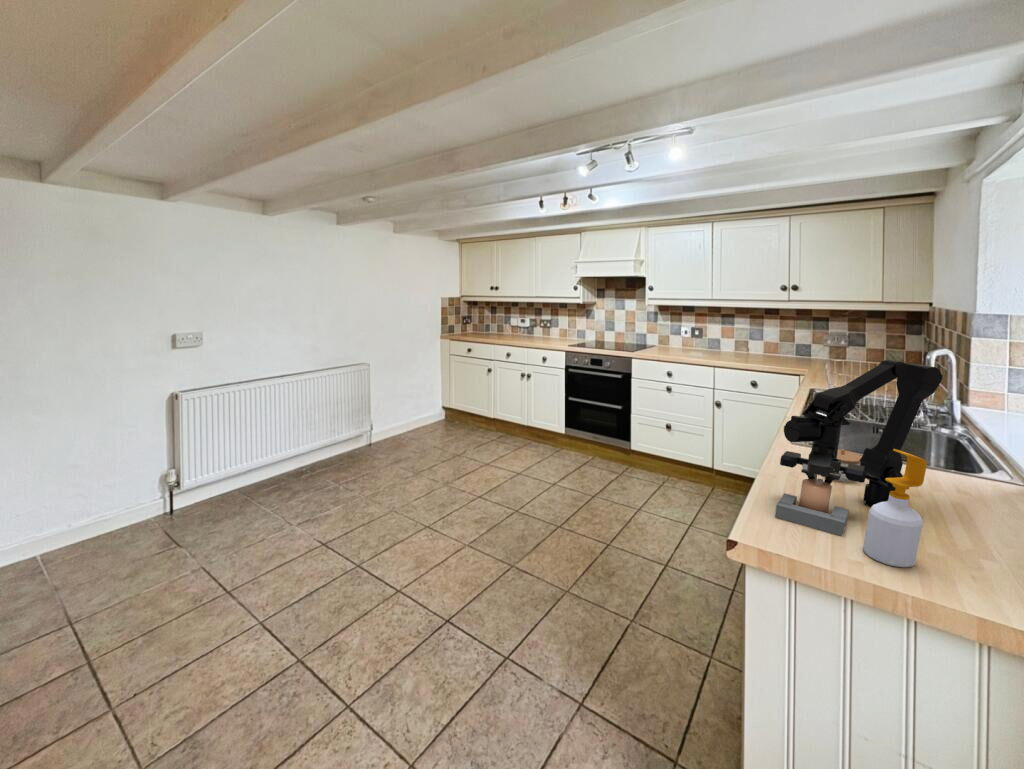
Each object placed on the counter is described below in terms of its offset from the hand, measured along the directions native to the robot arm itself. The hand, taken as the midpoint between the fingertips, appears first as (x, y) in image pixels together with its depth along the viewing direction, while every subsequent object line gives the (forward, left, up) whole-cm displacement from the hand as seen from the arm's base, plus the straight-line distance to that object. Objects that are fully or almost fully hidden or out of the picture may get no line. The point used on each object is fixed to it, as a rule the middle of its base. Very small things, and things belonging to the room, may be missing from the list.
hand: (817, 495), depth 125 cm
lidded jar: (-2, -29, -4) cm, 29 cm away
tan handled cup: (0, +4, -4) cm, 5 cm away
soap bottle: (-16, +17, -4) cm, 24 cm away
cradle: (0, +9, -4) cm, 9 cm away
